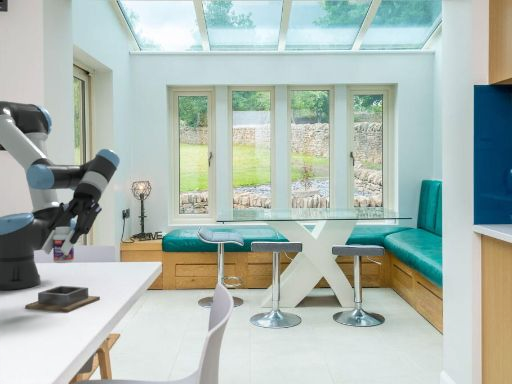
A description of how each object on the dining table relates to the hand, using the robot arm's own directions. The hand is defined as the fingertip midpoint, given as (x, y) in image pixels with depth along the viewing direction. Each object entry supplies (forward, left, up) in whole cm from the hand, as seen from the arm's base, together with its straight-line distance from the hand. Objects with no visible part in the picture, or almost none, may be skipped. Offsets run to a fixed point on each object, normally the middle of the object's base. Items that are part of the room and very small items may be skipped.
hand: (54, 251), depth 137 cm
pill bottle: (0, +4, -4) cm, 5 cm away
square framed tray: (0, +4, -15) cm, 16 cm away
